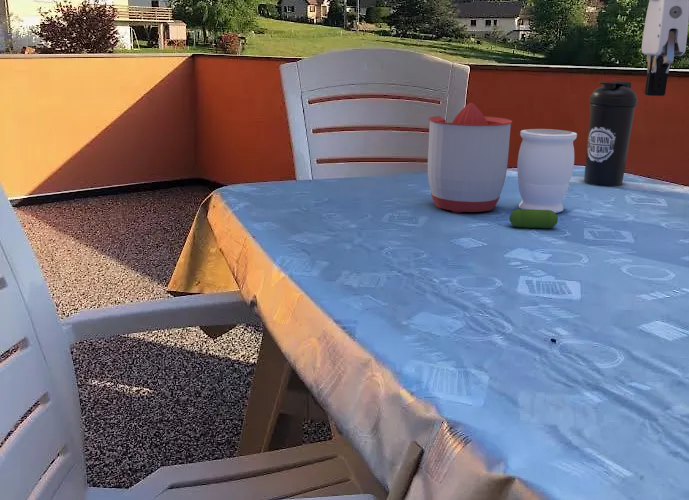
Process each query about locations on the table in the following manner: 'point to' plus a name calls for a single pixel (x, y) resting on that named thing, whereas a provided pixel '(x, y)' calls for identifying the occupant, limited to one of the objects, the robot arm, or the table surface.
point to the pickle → (533, 218)
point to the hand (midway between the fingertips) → (654, 95)
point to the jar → (545, 168)
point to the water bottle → (609, 133)
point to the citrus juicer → (468, 160)
